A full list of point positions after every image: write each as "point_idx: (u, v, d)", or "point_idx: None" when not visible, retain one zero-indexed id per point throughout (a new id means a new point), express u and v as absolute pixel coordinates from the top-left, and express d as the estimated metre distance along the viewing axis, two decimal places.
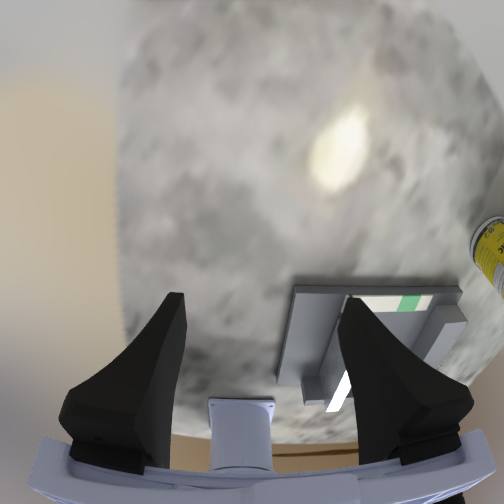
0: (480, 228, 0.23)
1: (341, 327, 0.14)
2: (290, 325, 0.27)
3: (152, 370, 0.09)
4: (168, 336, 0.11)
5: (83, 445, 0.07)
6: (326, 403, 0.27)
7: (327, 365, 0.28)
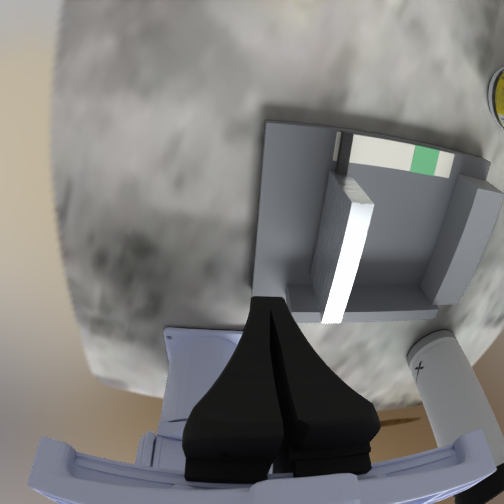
0: (494, 75, 0.15)
1: None
2: (262, 181, 0.20)
3: (271, 376, 0.09)
4: None
5: (199, 463, 0.07)
6: (321, 309, 0.19)
7: (320, 251, 0.21)
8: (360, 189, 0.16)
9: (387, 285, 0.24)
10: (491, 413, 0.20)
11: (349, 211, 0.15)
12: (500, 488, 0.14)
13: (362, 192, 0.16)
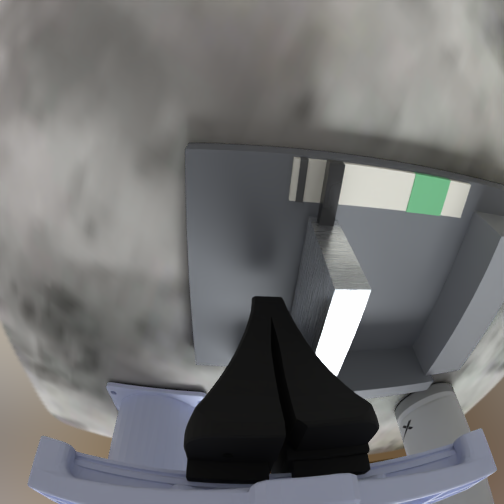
0: None
1: None
2: (188, 231, 0.14)
3: (273, 376, 0.09)
4: None
5: (201, 463, 0.07)
6: None
7: None
8: (351, 255, 0.11)
9: (370, 349, 0.19)
10: (485, 483, 0.15)
11: (331, 301, 0.10)
12: None
13: (354, 262, 0.11)
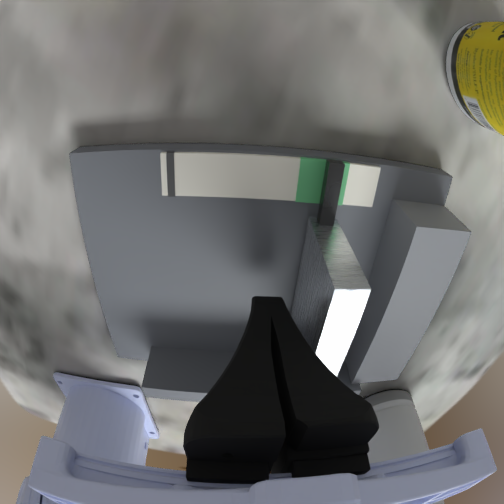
0: (455, 34, 0.09)
1: None
2: (83, 228, 0.14)
3: (273, 376, 0.09)
4: None
5: (200, 464, 0.07)
6: None
7: None
8: (351, 255, 0.11)
9: None
10: (438, 503, 0.14)
11: (331, 301, 0.10)
12: None
13: (354, 262, 0.11)
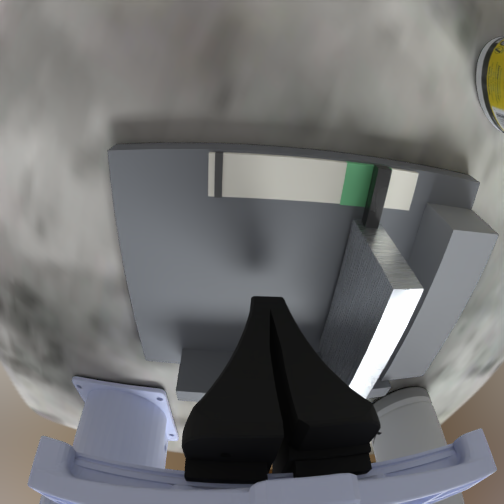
0: (485, 48, 0.09)
1: None
2: (118, 229, 0.14)
3: (271, 376, 0.09)
4: None
5: (199, 463, 0.07)
6: None
7: (335, 324, 0.15)
8: (400, 257, 0.11)
9: None
10: (457, 496, 0.14)
11: (388, 300, 0.10)
12: None
13: (404, 263, 0.11)
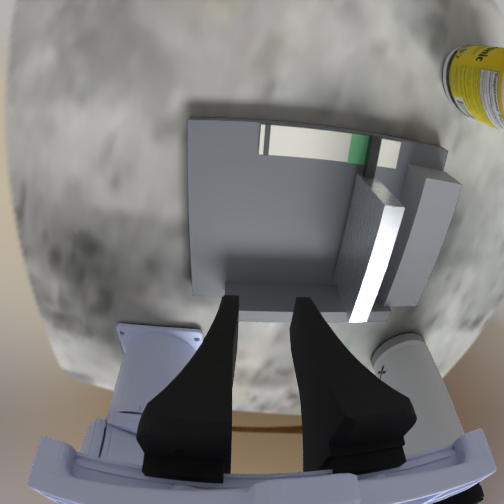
0: (449, 54, 0.15)
1: (292, 327, 0.14)
2: (189, 178, 0.19)
3: (230, 375, 0.09)
4: (234, 340, 0.11)
5: (157, 459, 0.07)
6: (349, 308, 0.20)
7: (346, 252, 0.21)
8: (389, 192, 0.17)
9: (335, 284, 0.24)
10: (457, 424, 0.20)
11: (382, 214, 0.15)
12: None
13: (391, 195, 0.16)
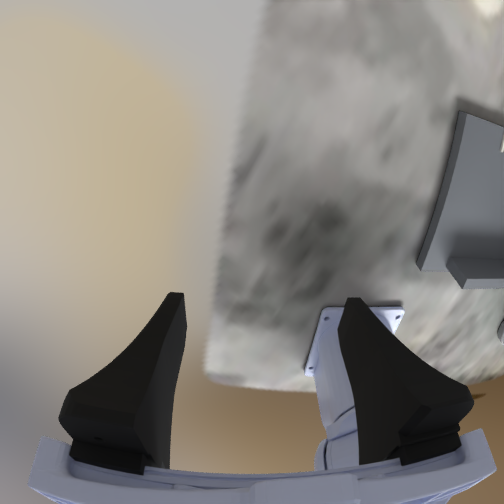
0: None
1: (341, 327, 0.14)
2: (456, 162, 0.19)
3: (152, 370, 0.09)
4: (168, 336, 0.11)
5: (83, 445, 0.07)
6: None
7: None
8: None
9: None
10: None
11: None
12: None
13: None
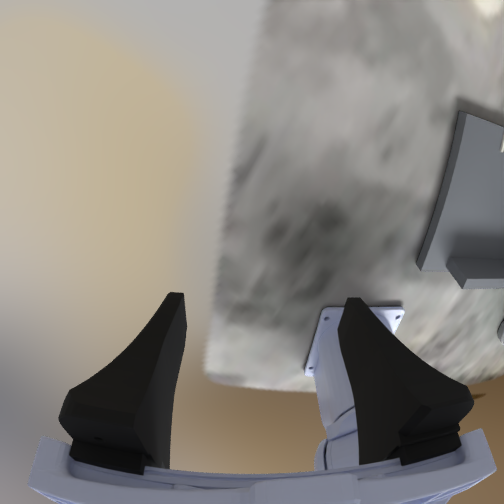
0: None
1: (341, 327, 0.14)
2: (456, 162, 0.19)
3: (152, 370, 0.09)
4: (168, 336, 0.11)
5: (83, 445, 0.07)
6: None
7: None
8: None
9: None
10: None
11: None
12: None
13: None
